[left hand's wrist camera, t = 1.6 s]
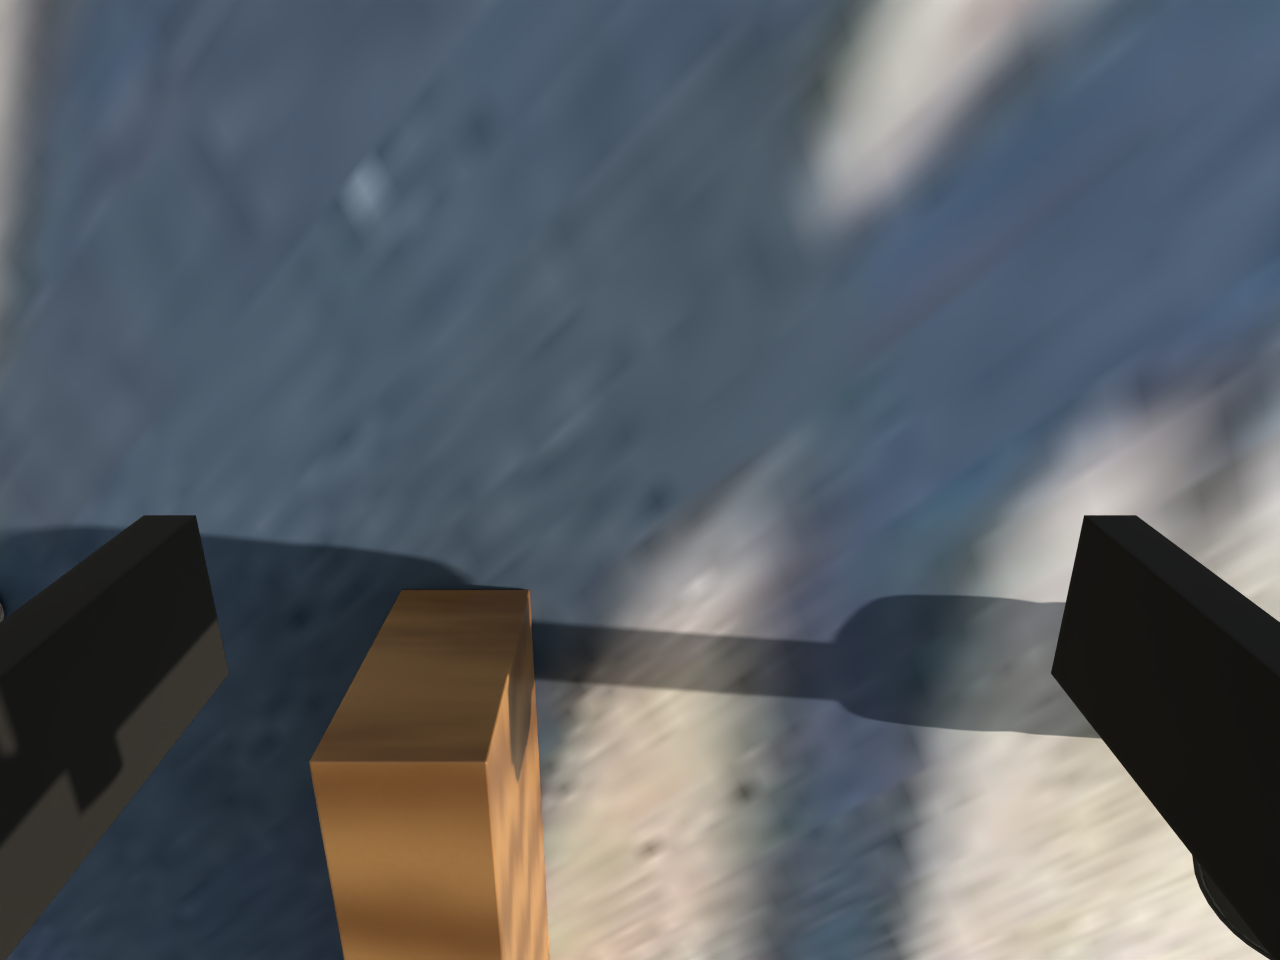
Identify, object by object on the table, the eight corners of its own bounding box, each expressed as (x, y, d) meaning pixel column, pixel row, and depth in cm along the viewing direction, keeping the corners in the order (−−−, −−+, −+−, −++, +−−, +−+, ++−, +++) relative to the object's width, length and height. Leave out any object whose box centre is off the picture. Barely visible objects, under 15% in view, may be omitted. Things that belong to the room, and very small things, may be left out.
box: (401, 589, 42) (307, 762, 30) (530, 589, 42) (486, 762, 30) (448, 991, 52) (392, 1237, 40) (551, 991, 52) (525, 1237, 40)
